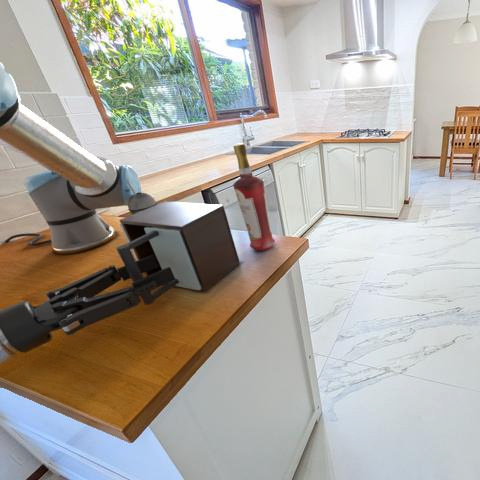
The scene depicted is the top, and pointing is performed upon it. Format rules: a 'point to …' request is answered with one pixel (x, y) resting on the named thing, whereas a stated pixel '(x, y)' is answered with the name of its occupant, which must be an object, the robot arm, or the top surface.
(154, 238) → the glass door
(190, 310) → the top surface
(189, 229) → the cabinet
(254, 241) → the liquor
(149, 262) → the robot arm
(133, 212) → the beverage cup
